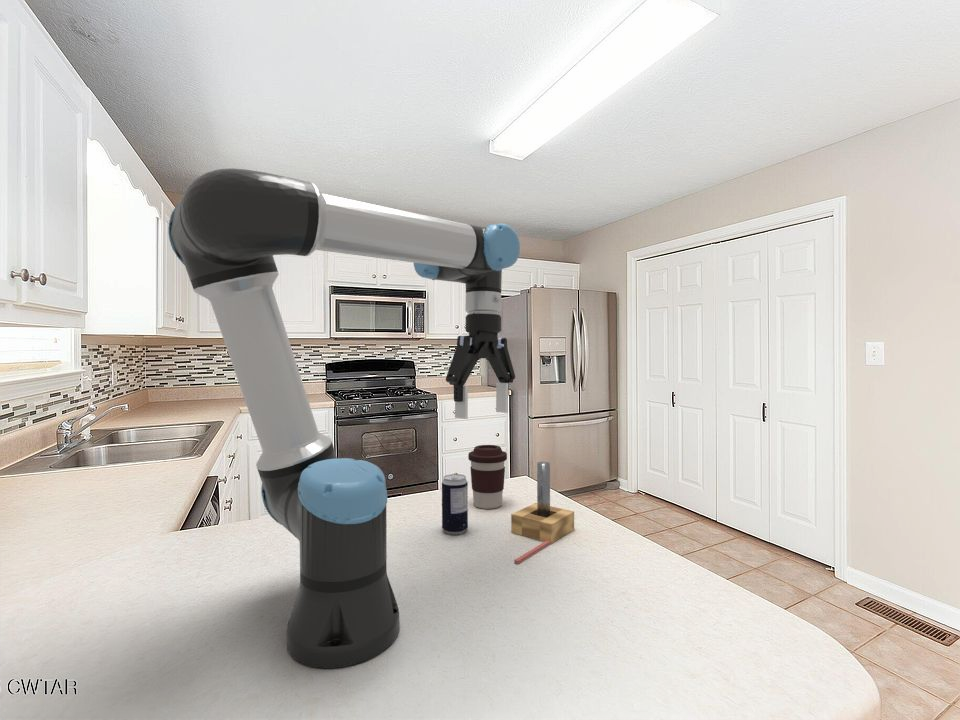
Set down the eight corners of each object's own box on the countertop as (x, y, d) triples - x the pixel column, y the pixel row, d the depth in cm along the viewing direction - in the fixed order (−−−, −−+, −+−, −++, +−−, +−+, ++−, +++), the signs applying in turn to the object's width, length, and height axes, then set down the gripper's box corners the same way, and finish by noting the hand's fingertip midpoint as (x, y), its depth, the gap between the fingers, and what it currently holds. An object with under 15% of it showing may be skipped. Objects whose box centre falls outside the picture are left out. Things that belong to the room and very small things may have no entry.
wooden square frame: (551, 543, 97) (551, 524, 97) (511, 532, 103) (511, 514, 103) (574, 529, 105) (574, 511, 105) (535, 519, 111) (535, 502, 111)
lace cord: (518, 564, 88) (518, 561, 88) (514, 563, 88) (514, 559, 88) (550, 543, 97) (550, 540, 97) (547, 542, 98) (547, 539, 98)
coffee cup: (462, 502, 124) (462, 445, 124) (496, 497, 129) (496, 442, 128) (478, 513, 115) (478, 452, 115) (514, 507, 120) (513, 448, 119)
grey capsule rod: (545, 534, 102) (545, 465, 102) (534, 531, 104) (534, 463, 104) (552, 530, 104) (552, 462, 104) (541, 527, 106) (541, 461, 106)
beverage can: (469, 526, 107) (469, 473, 107) (466, 536, 101) (465, 480, 101) (444, 525, 107) (444, 473, 107) (439, 535, 102) (439, 479, 102)
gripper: (456, 307, 87) (456, 422, 87) (531, 317, 107) (530, 411, 107) (428, 310, 92) (427, 419, 92) (504, 318, 111) (503, 408, 111)
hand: (482, 415), depth 99 cm, fingers open, 13 cm apart
